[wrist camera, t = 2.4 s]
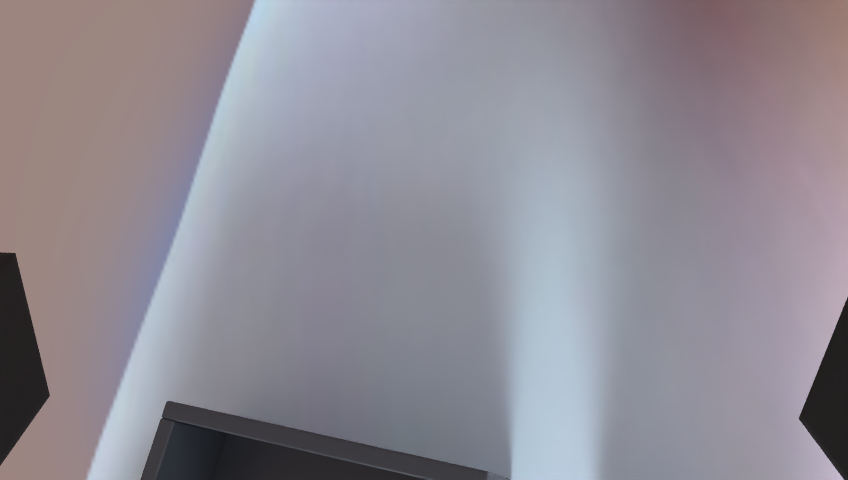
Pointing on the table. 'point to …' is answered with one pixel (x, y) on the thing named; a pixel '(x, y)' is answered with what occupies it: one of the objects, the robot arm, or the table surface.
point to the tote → (276, 453)
